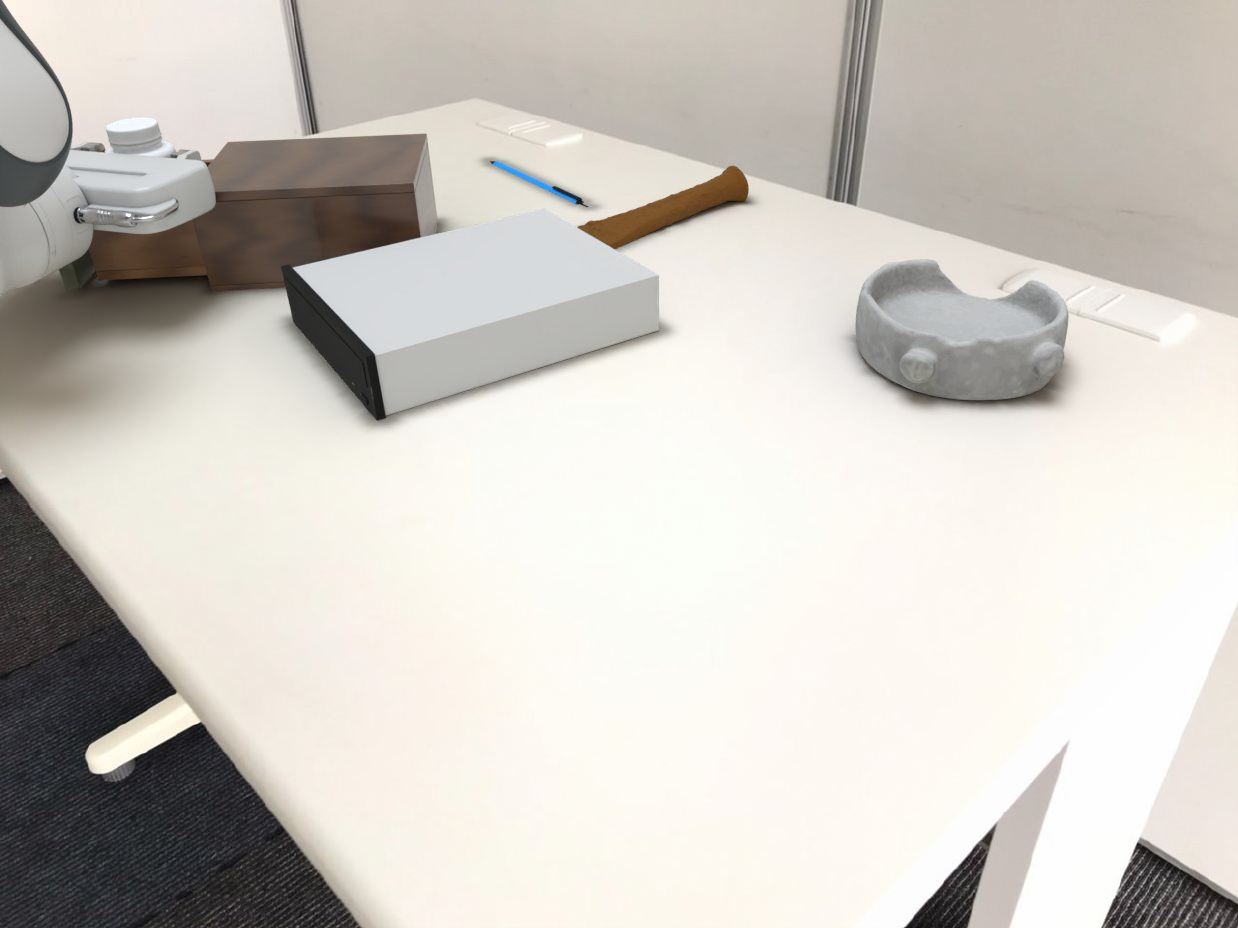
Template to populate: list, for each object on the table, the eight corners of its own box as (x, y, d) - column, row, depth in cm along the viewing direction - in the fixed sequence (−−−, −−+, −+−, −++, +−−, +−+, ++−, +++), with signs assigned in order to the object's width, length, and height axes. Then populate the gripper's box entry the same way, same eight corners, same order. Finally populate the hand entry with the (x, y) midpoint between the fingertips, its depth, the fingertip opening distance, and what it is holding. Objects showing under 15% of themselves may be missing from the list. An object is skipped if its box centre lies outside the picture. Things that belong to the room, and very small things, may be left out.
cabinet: (212, 295, 83) (185, 193, 78) (249, 234, 94) (227, 141, 90) (427, 284, 84) (413, 182, 79) (438, 225, 95) (426, 133, 91)
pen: (584, 214, 98) (583, 202, 97) (485, 166, 111) (483, 156, 110) (591, 211, 98) (591, 200, 98) (492, 165, 111) (490, 154, 111)
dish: (855, 310, 78) (862, 249, 76) (1043, 325, 76) (1058, 262, 73) (847, 403, 67) (855, 336, 64) (1069, 425, 64) (1088, 355, 61)
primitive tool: (601, 256, 88) (599, 217, 86) (563, 239, 92) (561, 202, 90) (753, 205, 98) (755, 169, 96) (714, 192, 102) (715, 157, 100)
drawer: (3, 292, 82) (-28, 211, 78) (60, 235, 92) (35, 162, 89) (270, 279, 83) (251, 199, 80) (297, 224, 94) (282, 151, 90)
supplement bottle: (208, 244, 87) (177, 124, 81) (143, 261, 84) (105, 138, 78) (186, 227, 91) (154, 110, 85) (122, 242, 88) (85, 123, 82)
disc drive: (292, 326, 78) (278, 265, 75) (546, 259, 88) (542, 204, 85) (375, 425, 66) (363, 357, 63) (660, 335, 76) (661, 273, 73)
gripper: (134, 180, 69) (247, 124, 80) (-106, 159, 73) (32, 109, 84) (159, 267, 72) (264, 202, 83) (-72, 241, 77) (57, 183, 88)
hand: (146, 155), depth 84 cm, fingers open, 8 cm apart
